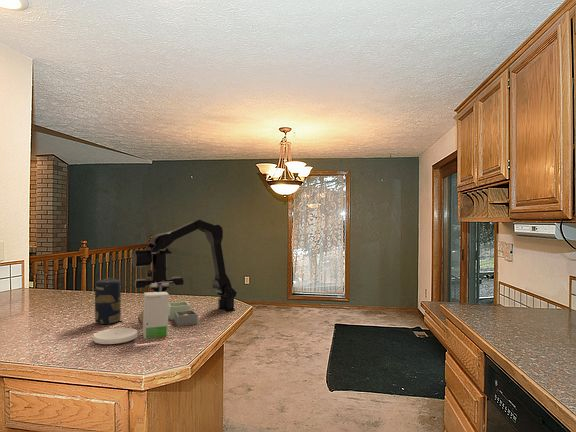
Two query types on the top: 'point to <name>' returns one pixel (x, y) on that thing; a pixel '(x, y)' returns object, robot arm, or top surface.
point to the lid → (141, 317)
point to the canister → (107, 301)
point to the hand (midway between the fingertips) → (159, 302)
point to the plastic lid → (115, 335)
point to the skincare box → (155, 314)
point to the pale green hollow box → (177, 308)
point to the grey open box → (186, 318)
